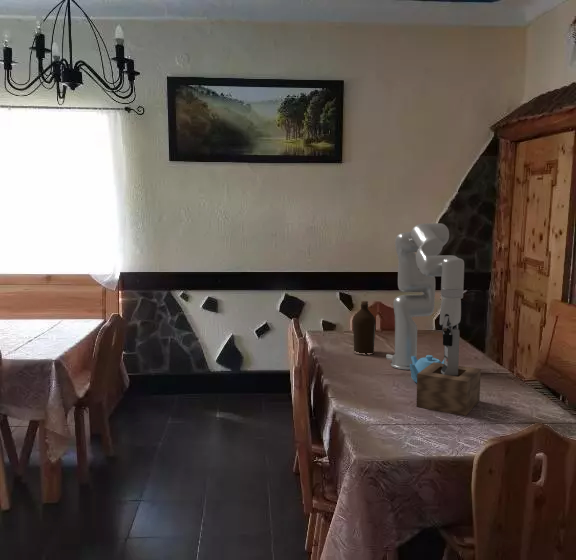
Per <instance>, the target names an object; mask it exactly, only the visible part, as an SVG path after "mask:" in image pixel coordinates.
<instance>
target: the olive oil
mask: <svg viewBox="0 0 576 560" xmlns="http://www.w3.org/2000/svg"><path fill="white" fill-rule="evenodd" d="M360 302H361V303H360V309H359V311H358V312H356V313H355V315H354V316H353V318H352V319H353V320H352V329H353V352H354V351H356V352H359V353H365V354H367V353H373V352H374V353H375V338H376V337H375V336H376V324H377V323H376V322H377V321H376V317H375V316H374V314H373V313H372V312H371V311H370V310H369V304H368V303H369V301H368V300H361V301H360ZM374 353H373V354H374Z"/></svg>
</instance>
